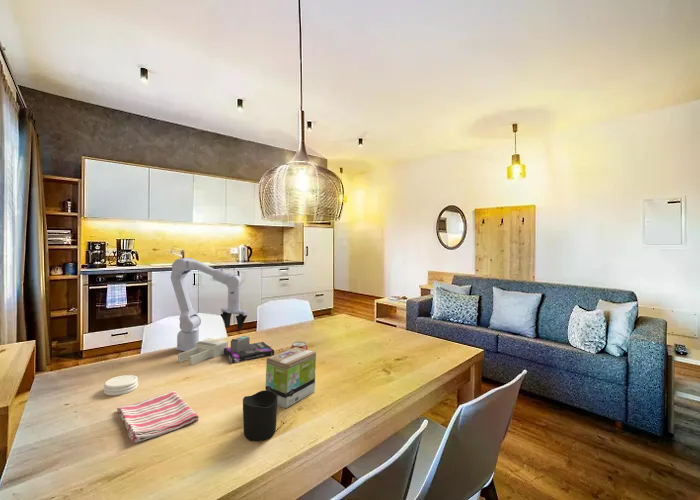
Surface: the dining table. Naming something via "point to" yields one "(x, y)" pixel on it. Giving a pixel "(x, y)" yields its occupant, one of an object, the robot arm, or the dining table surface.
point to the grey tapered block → (240, 344)
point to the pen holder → (260, 415)
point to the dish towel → (156, 416)
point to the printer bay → (204, 350)
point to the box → (249, 352)
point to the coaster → (120, 385)
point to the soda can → (299, 345)
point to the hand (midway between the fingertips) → (233, 328)
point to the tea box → (291, 375)
